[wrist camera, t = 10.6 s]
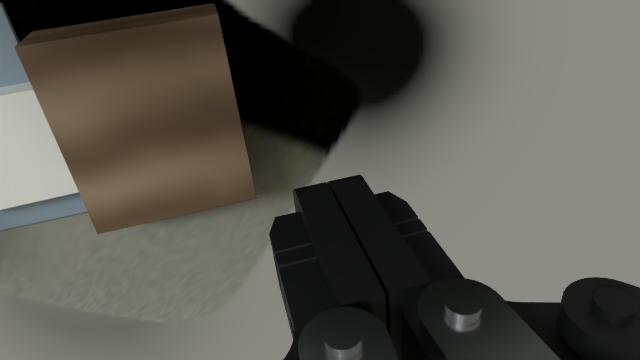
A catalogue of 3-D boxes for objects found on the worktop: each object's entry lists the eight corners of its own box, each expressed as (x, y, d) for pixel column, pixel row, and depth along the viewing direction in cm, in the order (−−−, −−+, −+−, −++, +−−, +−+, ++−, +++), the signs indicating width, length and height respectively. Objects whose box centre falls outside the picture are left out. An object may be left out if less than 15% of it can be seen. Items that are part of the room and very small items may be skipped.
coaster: (-83, 103, 31) (-98, 114, 29) (44, 79, 32) (36, 88, 31) (-23, 202, 35) (-32, 217, 34) (88, 177, 37) (84, 190, 35)
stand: (32, 31, 31) (14, 47, 28) (214, 3, 33) (218, 14, 30) (104, 205, 38) (97, 234, 35) (250, 173, 40) (256, 198, 37)
